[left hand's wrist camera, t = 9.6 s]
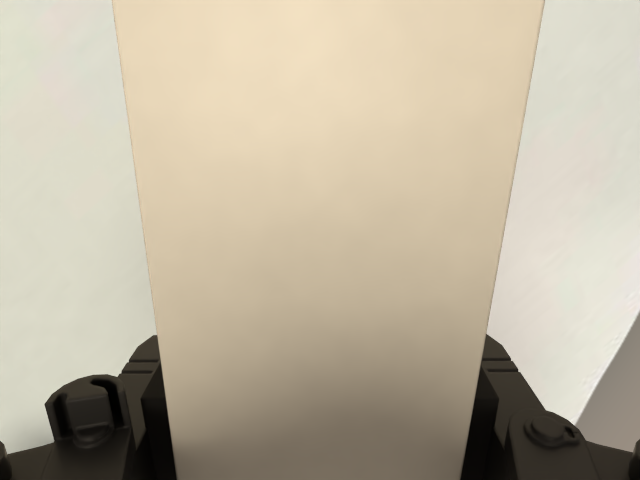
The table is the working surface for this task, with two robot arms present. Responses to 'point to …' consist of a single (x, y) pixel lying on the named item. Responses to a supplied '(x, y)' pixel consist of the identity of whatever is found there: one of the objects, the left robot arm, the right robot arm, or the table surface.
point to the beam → (323, 223)
